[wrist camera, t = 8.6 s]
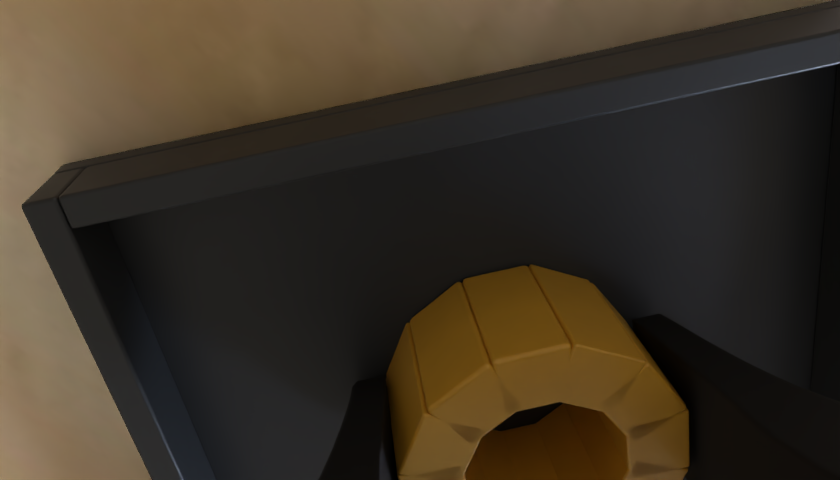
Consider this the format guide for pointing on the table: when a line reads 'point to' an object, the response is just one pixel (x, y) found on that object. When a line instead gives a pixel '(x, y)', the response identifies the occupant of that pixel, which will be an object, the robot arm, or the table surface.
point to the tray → (455, 232)
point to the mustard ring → (531, 386)
